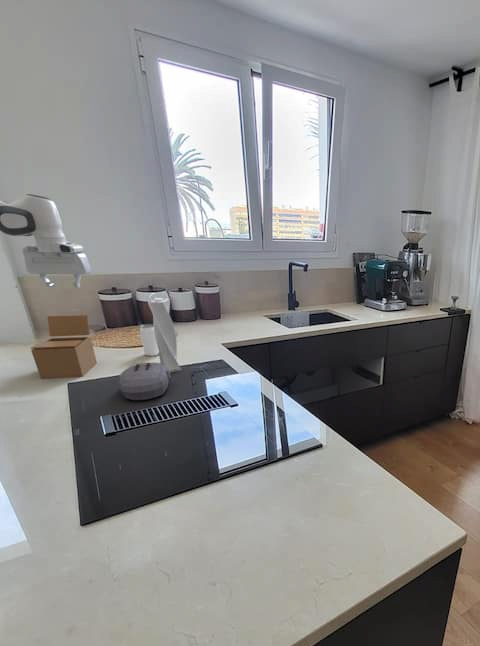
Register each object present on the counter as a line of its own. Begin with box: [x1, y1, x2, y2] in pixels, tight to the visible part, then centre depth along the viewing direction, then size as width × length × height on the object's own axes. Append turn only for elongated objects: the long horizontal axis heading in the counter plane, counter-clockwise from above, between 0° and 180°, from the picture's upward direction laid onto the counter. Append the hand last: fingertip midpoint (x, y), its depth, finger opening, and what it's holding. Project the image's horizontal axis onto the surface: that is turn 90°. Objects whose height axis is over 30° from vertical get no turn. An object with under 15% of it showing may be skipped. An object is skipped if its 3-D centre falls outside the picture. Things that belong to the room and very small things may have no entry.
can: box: [139, 323, 159, 357], centre depth 162 cm, size 6×6×12 cm
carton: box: [30, 336, 98, 380], centre depth 142 cm, size 15×13×11 cm
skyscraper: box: [147, 292, 183, 374], centre depth 143 cm, size 8×8×28 cm
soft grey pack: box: [118, 362, 172, 401], centre depth 128 cm, size 15×8×20 cm
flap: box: [46, 314, 91, 337], centre depth 147 cm, size 7×13×1 cm
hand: (63, 286), depth 144 cm, fingers open, 8 cm apart
